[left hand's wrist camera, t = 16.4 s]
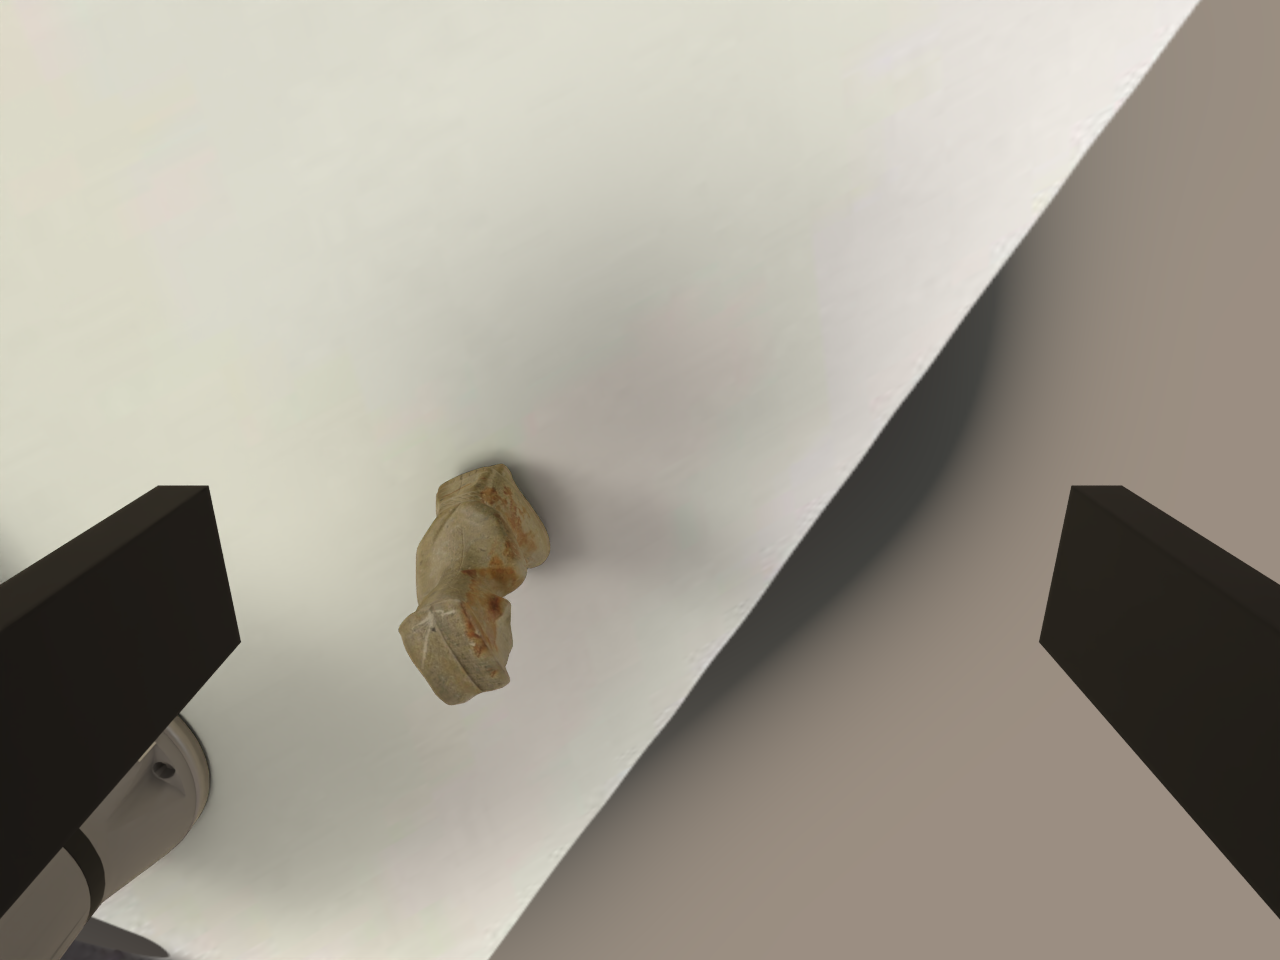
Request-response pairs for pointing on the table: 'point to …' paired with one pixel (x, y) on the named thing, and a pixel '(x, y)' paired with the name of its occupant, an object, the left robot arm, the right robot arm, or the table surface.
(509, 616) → the sculpture
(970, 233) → the table surface
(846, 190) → the table surface
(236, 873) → the table surface
